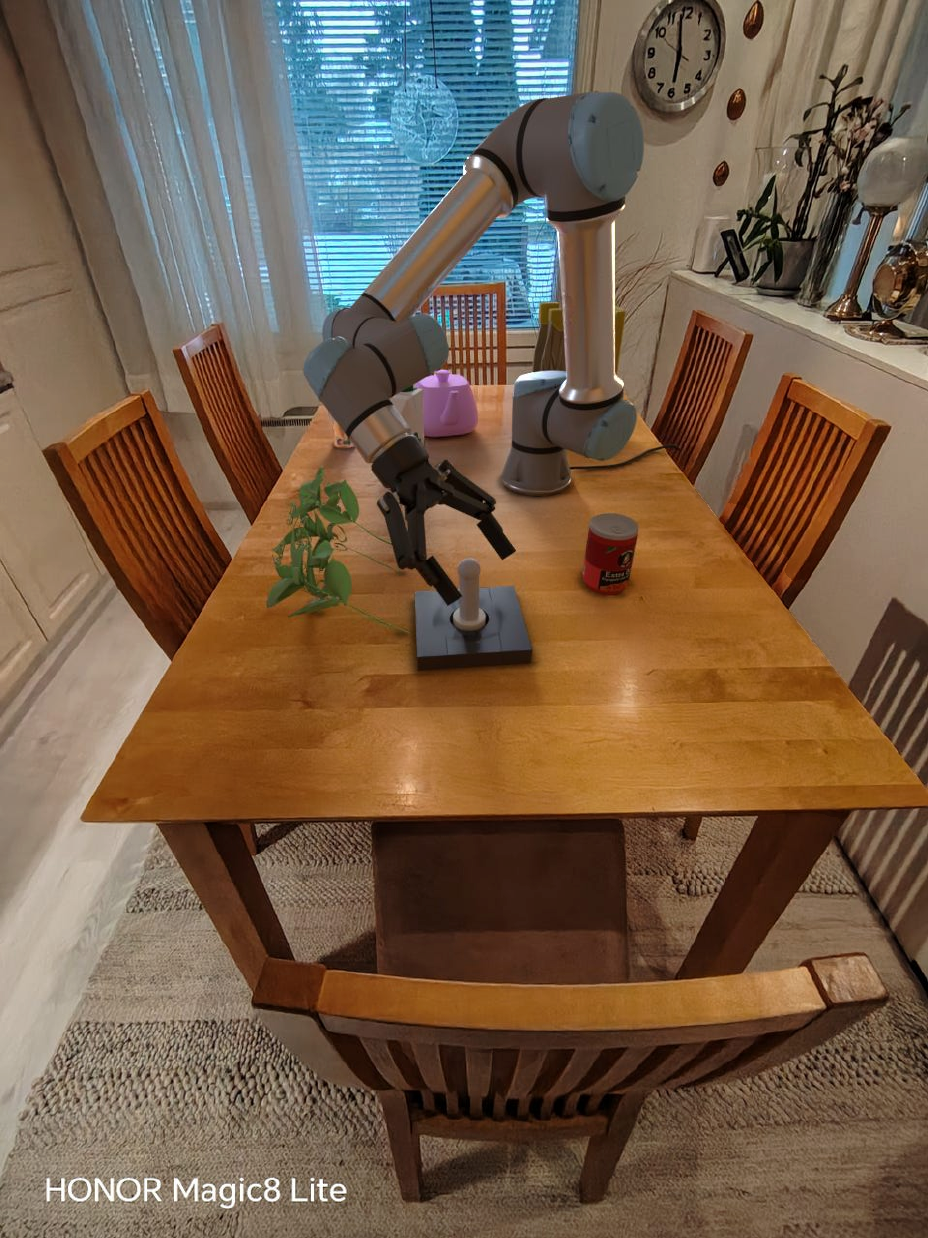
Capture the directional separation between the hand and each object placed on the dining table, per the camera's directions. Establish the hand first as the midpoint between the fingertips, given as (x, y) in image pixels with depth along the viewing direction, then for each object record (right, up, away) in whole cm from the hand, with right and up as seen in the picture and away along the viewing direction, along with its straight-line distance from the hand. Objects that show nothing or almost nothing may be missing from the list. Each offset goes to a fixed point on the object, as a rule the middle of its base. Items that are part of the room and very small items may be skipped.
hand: (483, 577), depth 81 cm
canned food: (+21, 0, +18) cm, 28 cm away
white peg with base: (-2, -8, +7) cm, 11 cm away
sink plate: (-2, -8, +7) cm, 11 cm away
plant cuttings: (-21, -4, +13) cm, 25 cm away
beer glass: (-33, +39, +69) cm, 86 cm away
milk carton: (-16, +28, +55) cm, 64 cm away
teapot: (-8, +45, +77) cm, 89 cm away
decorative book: (+25, +45, +76) cm, 92 cm away
